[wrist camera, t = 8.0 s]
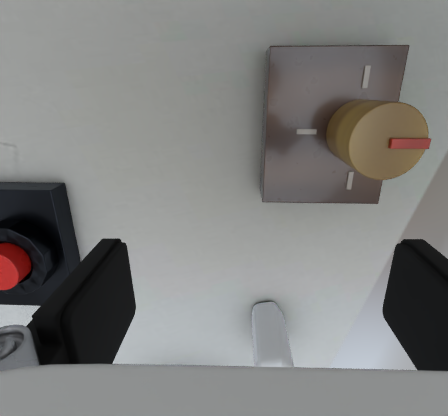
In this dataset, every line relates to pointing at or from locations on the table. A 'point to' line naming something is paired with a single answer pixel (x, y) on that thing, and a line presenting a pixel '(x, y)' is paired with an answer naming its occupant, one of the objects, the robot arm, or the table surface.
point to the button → (13, 265)
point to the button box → (38, 238)
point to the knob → (378, 137)
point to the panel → (320, 118)
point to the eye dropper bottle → (270, 337)
